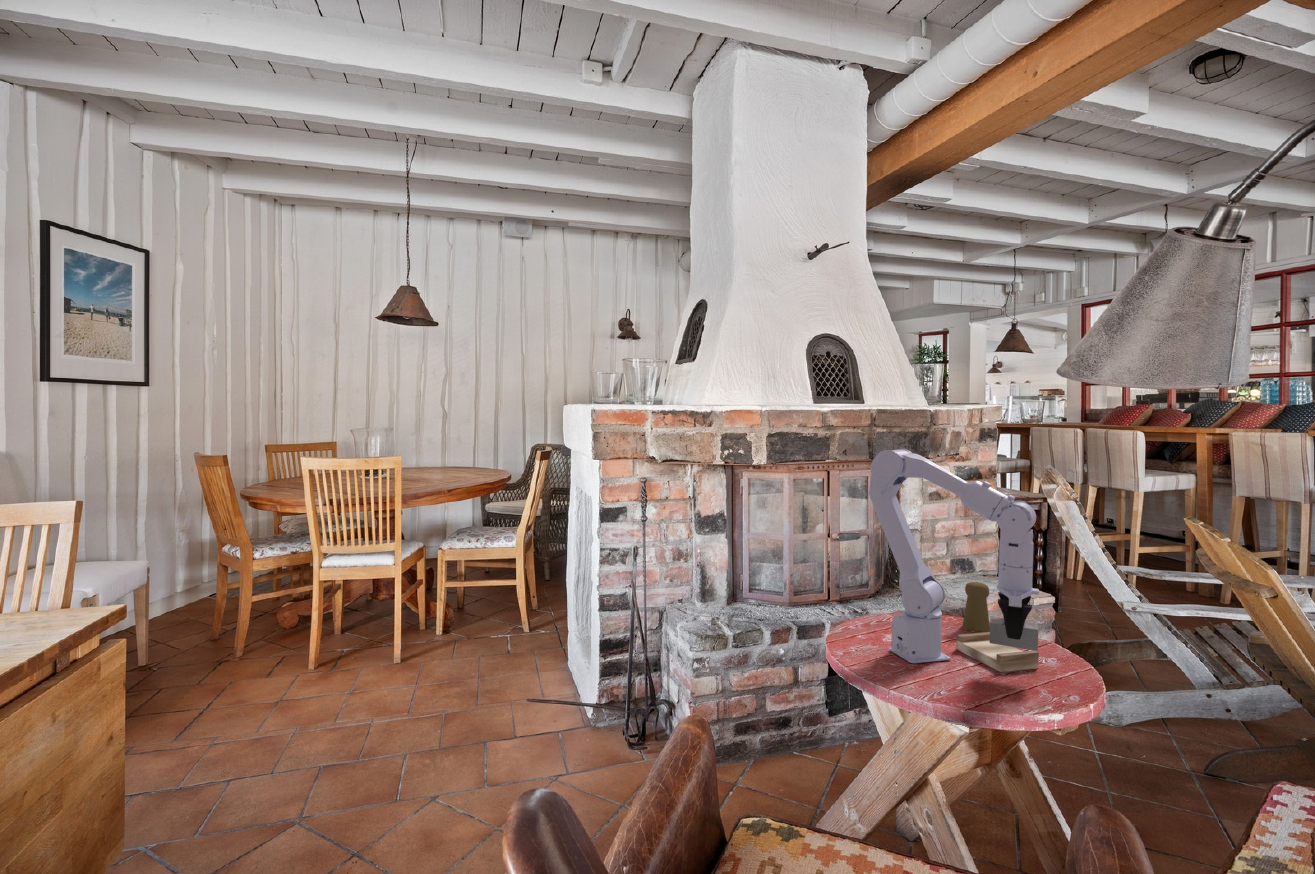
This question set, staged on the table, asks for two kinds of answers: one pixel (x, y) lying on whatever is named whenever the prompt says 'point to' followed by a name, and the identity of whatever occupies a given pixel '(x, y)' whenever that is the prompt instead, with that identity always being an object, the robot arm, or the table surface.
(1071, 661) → the table surface
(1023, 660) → the stand
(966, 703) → the table surface
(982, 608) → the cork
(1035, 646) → the housing
